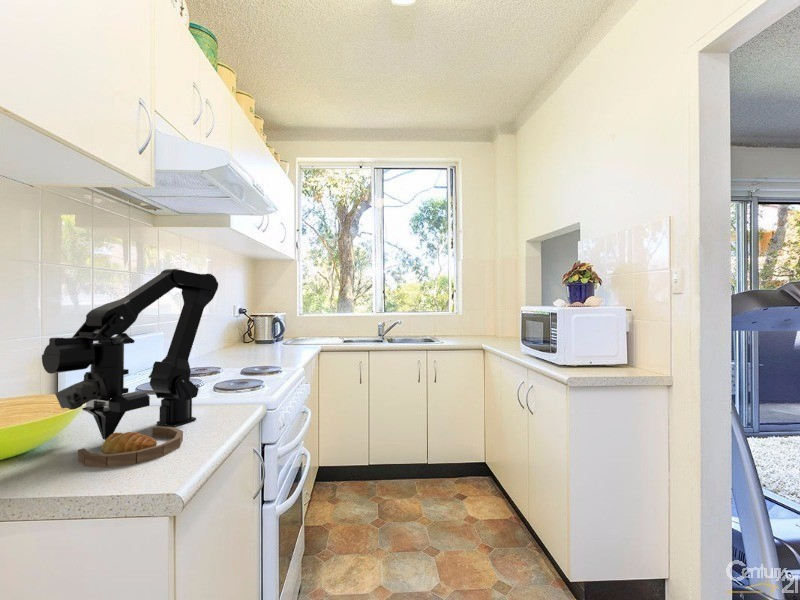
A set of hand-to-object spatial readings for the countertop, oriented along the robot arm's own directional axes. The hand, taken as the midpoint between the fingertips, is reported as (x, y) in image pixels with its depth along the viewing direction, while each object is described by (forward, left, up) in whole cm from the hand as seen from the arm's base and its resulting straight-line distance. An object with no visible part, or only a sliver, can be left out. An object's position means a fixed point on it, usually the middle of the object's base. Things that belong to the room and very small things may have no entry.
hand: (106, 439), depth 83 cm
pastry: (+1, +8, -2) cm, 8 cm away
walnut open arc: (0, +11, -1) cm, 11 cm away
